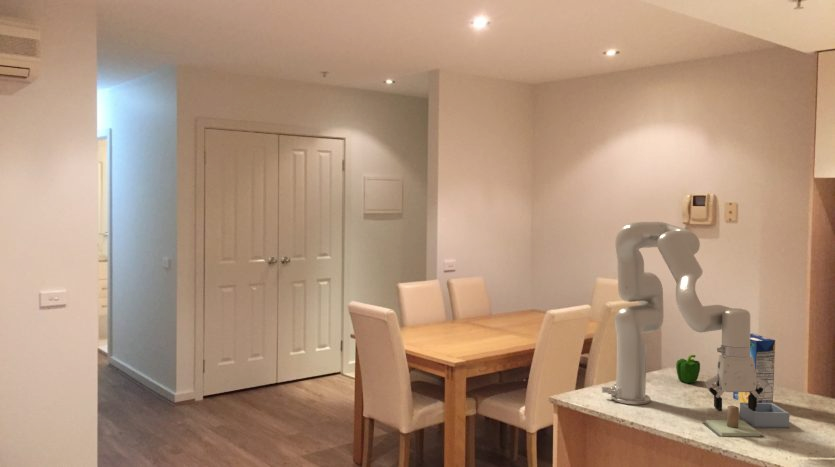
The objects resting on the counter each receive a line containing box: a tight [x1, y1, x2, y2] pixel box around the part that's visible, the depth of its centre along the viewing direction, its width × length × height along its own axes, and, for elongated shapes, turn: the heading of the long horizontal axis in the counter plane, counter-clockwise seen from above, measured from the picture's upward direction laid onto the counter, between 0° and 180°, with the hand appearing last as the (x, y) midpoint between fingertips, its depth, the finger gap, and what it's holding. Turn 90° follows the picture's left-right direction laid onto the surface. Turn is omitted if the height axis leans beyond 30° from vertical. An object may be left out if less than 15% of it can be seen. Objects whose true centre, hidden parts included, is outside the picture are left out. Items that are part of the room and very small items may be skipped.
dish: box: [739, 402, 790, 429], centre depth 211 cm, size 10×10×5 cm
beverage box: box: [732, 333, 776, 404], centre depth 232 cm, size 7×11×22 cm, turn 11°
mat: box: [702, 422, 765, 438], centre depth 204 cm, size 13×12×1 cm
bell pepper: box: [675, 354, 701, 384], centre depth 258 cm, size 8×8×10 cm
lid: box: [705, 405, 762, 436], centre depth 204 cm, size 11×11×7 cm
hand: (735, 409), depth 203 cm, fingers open, 9 cm apart
